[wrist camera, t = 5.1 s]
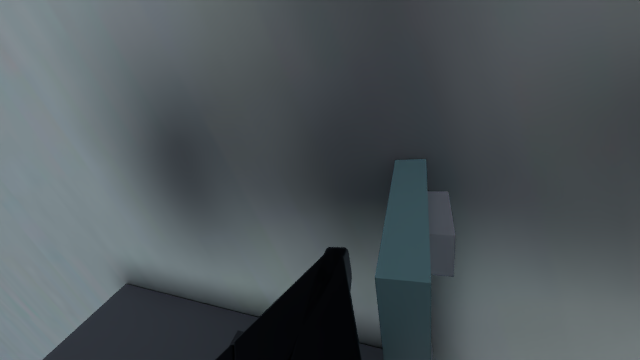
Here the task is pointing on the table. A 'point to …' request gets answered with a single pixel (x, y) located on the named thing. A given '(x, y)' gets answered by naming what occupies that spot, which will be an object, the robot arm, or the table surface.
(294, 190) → the table surface
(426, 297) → the side door
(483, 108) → the table surface
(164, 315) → the box
